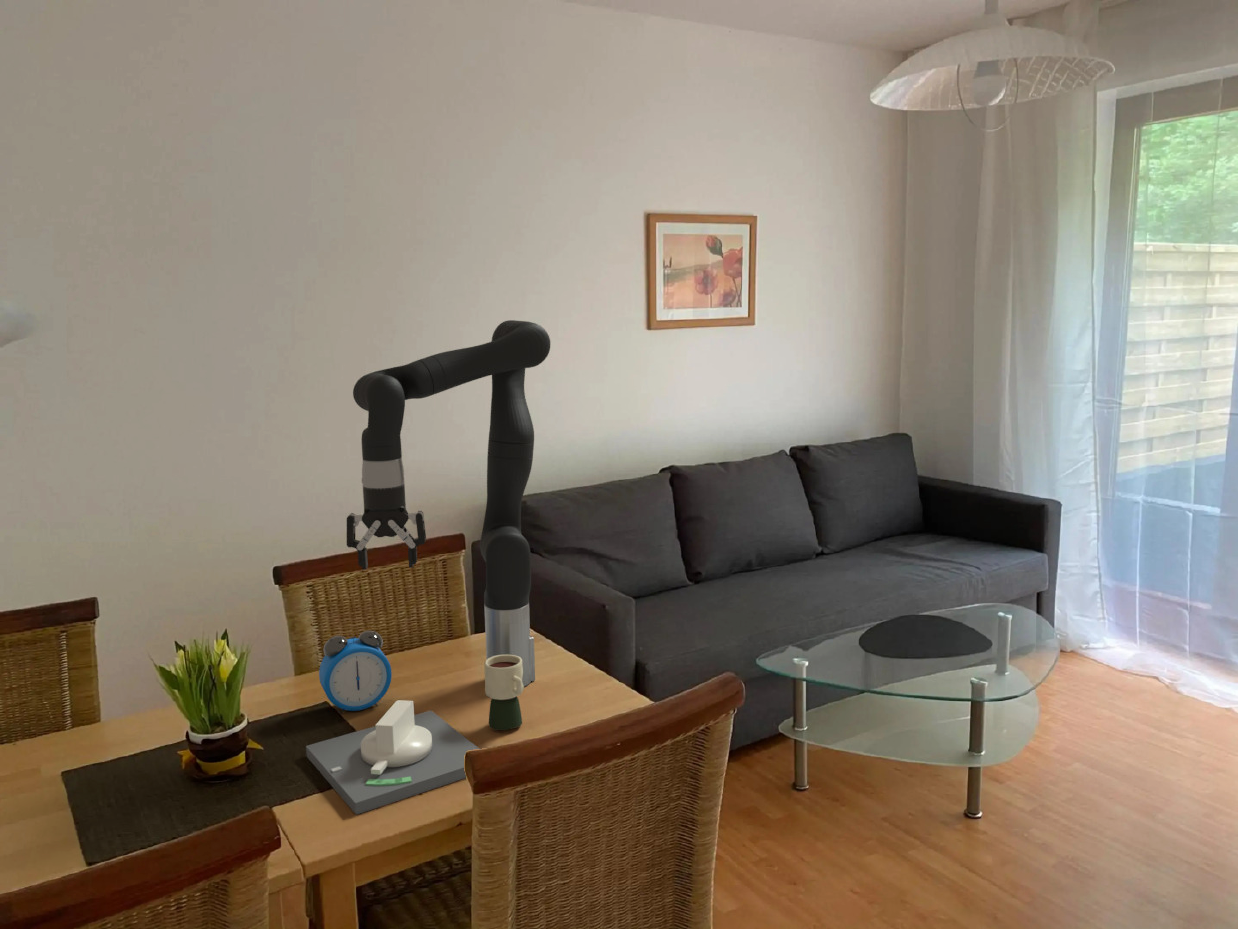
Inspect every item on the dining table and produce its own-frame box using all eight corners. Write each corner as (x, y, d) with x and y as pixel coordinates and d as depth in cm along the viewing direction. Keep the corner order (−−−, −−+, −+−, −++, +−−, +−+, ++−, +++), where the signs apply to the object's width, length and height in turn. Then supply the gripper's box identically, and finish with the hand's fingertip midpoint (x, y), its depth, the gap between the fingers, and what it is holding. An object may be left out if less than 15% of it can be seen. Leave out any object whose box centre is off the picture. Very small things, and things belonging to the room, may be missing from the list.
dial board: (431, 720, 181) (431, 709, 180) (491, 769, 162) (491, 756, 161) (306, 756, 167) (305, 744, 166) (356, 815, 148) (355, 801, 147)
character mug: (537, 730, 176) (536, 664, 174) (505, 742, 171) (503, 674, 169) (505, 711, 184) (503, 648, 182) (474, 722, 180) (471, 657, 177)
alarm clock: (326, 719, 182) (321, 645, 179) (320, 706, 187) (315, 635, 185) (394, 705, 188) (390, 633, 185) (386, 693, 193) (382, 624, 190)
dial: (377, 733, 170) (375, 696, 169) (441, 736, 169) (439, 699, 168) (341, 775, 155) (338, 736, 154) (411, 779, 154) (409, 739, 152)
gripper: (424, 477, 178) (428, 560, 181) (347, 480, 177) (352, 563, 179) (420, 485, 171) (424, 571, 174) (340, 487, 169) (345, 574, 172)
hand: (388, 567), depth 177 cm, fingers open, 8 cm apart
